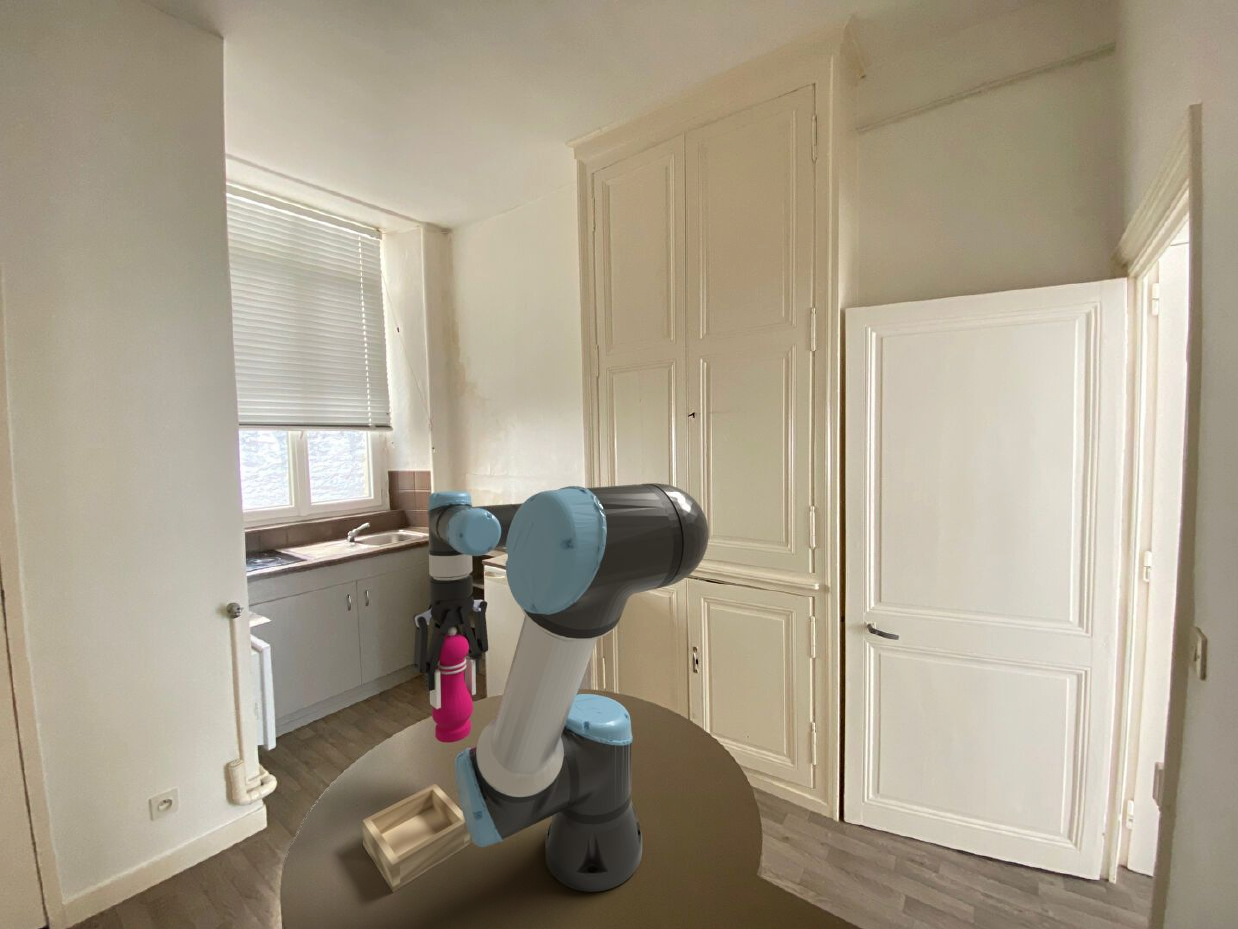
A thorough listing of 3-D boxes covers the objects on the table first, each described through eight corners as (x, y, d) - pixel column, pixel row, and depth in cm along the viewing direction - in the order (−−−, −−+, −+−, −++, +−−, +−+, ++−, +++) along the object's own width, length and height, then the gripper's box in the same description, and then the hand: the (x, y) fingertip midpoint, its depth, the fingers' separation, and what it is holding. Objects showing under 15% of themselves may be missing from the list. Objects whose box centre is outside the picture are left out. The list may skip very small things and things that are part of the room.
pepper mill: (461, 747, 88) (459, 635, 88) (424, 742, 90) (422, 632, 89) (480, 724, 95) (478, 621, 95) (446, 721, 97) (444, 619, 96)
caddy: (470, 843, 79) (469, 819, 79) (393, 892, 71) (392, 865, 71) (435, 805, 88) (435, 783, 87) (362, 845, 79) (362, 820, 79)
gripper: (486, 563, 101) (488, 675, 102) (389, 581, 87) (392, 711, 88) (507, 569, 96) (509, 687, 97) (407, 589, 82) (410, 727, 83)
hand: (453, 698), depth 92 cm, fingers closed on pepper mill, 6 cm apart
